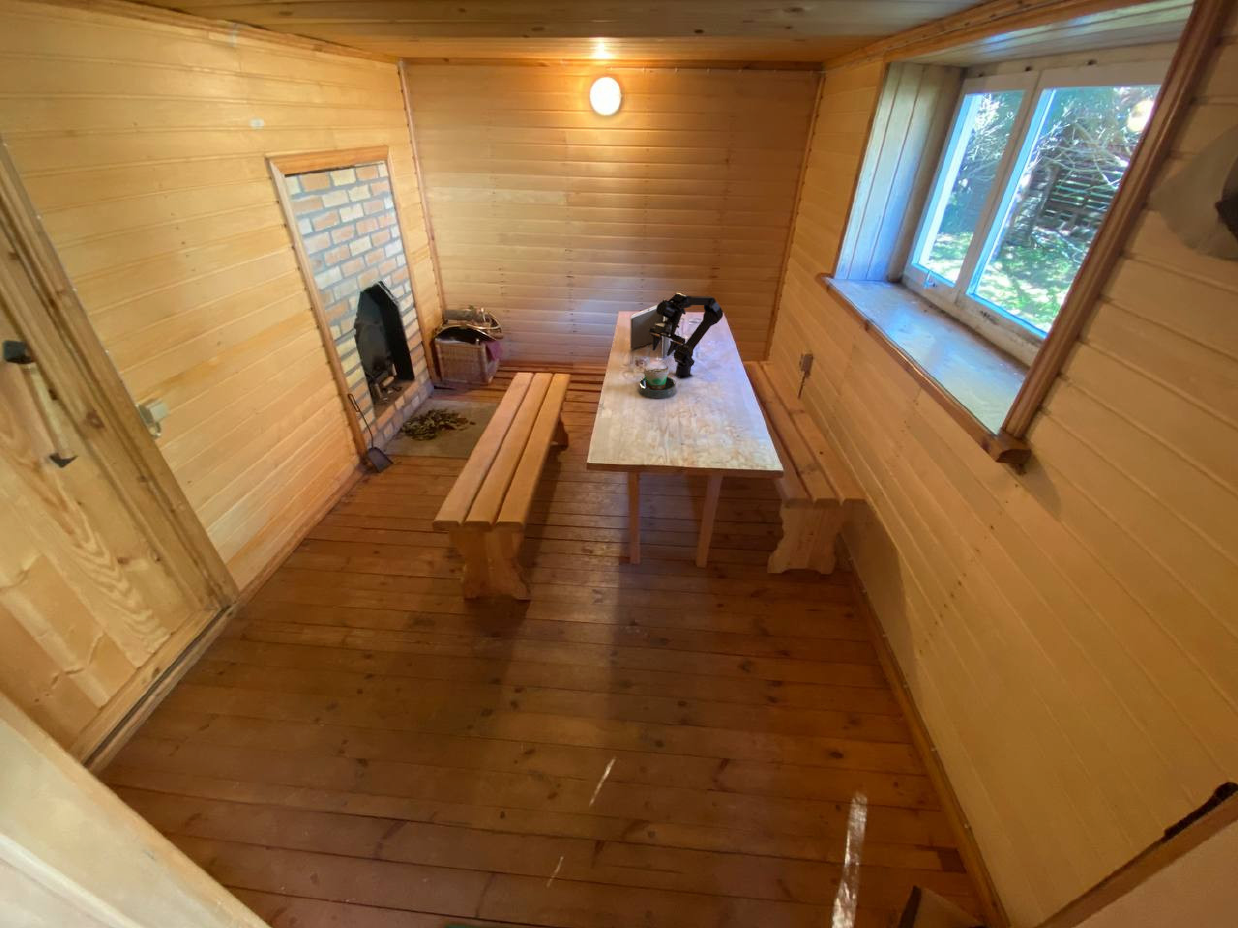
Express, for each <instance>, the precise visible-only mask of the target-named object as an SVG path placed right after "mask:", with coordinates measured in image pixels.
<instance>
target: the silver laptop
mask: <svg viewBox="0 0 1238 928" xmlns="http://www.w3.org/2000/svg"><path fill="white" fill-rule="evenodd" d="M657 305H658V304H656V305H654V306H651V307H648V308H646V309H644V310H641V311H638V312H636V313H634V314H633V313H632V314H631V315H630V317H629V349H630V350H633V349H637V348H641V347H643V346H647V345H649V344H651V343H653V337H652V335H651V334H652V333H651V332H649V330H650V328H651V327H655V324H658V323H663V322H664V321H665V320H667V318H666V317H664V316H661V315H659V314H658V313H657V312H656V308H657ZM650 333H651V334H650ZM659 337H661V338H662V343H661V344H662V346H661V358H665V357H666V356H667V352H668V350H669V347H670V338H667V337H665V336H659Z"/></svg>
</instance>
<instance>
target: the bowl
mask: <svg viewBox="0 0 1238 928" xmlns="http://www.w3.org/2000/svg"><path fill="white" fill-rule="evenodd" d="M676 387H677V382H676V380H675V379H674V378H672V377H671V376H670V377H669V376H667V378H666V384H665V389H664V390H660V391H657V390H650V389H647V388H646V384H645V376H644V377H642V378H640V379H639V381H638V391H639V393H640V394H641V395H643V396H645V397H647V398H650V399H666V398H669V397H672V396H673V395H675V393H676V389H677V388H676Z"/></svg>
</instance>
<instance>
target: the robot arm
mask: <svg viewBox="0 0 1238 928" xmlns="http://www.w3.org/2000/svg"><path fill="white" fill-rule="evenodd" d="M656 305H657V308H656V312H657V313H658V314H659V315H661V316H664V317H666V318H667V320H665V321H664V322H663V323H658V324H655V327H651V328H650V330H649V332H651V333H652V334H651V333H650V334H651V335H652V337H653V342H652V352H653V351H656V350H657V348H658V346H659V345H660V343H661V341H662V340H663V336H665V337H667V338H669V347H668V352H667V353H666V356H667V357H669V356H670V355H672V354H673V359H674V362H675V363H677V364H676V367H675V372H674V374H675V375H676V376H677V377H678V378H680V379H685V378H691V377H693V375H692V373H691V370H692V367H693V366H694V365H695V360H694V358H693V356H694V350H695V348H696V347H697V346H698V344H699V343H700V341H701V340H702V339H703V337H704V336H705V335H706V333H707V332H708V331H709V330H710V328H711V327H712V326H714V325H716V324H718V323H719V322H720V321H721V320H722V318H723V317H724V311H723V309H722V307H721V305H719V303H718V302H717V301H716V298H714V296H711V295H689V294H685V293H682V292H676V293H675V294H674V295H673V296H672V297H671V298H670V299H669V300H667V299H662V301H660V302H659V303H658V304H656ZM692 306H703V310H704V313H703V317H702V320H701V322H700V323H699V324H698V326H697V327H696V328H695V330H694V331H693V332H692V334H691V335H690V336H689V338H688V339H687V341H686V338H685V337H683V336H681V335H678V334H676V331H677V329H679V328H680V325H679V324H680V321H681V318H682V316H683V315H687V314H686V310H685V309H689V308H691V307H692ZM659 336H662V337H659Z"/></svg>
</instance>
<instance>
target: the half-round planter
mask: <svg viewBox="0 0 1238 928" xmlns="http://www.w3.org/2000/svg"><path fill="white" fill-rule="evenodd" d="M669 373H670V371H669V367H668V366H666V368H654V369H650V370H649V369H648V370H647V369H644V370H643V374H644V377H645V384H646V388H647V389H650V390H657V391H660V390H664V389H665V384H666V378H667V377H668V375H669Z"/></svg>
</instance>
